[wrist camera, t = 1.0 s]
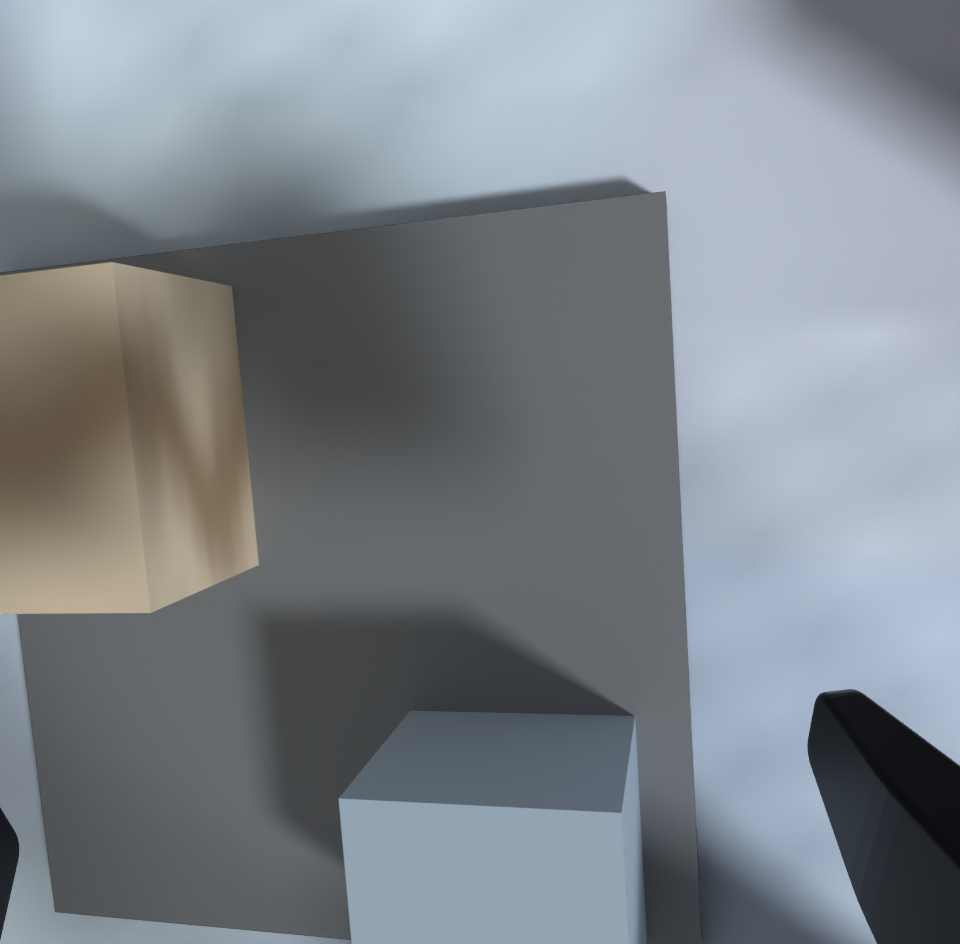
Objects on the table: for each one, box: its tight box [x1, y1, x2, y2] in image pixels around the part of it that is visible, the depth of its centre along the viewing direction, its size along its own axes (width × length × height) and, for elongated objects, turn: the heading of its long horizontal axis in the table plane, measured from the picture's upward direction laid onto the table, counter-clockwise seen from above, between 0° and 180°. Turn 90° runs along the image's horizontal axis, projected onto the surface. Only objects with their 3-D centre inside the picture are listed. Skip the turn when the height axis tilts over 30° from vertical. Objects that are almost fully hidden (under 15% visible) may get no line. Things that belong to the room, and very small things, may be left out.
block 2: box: [339, 711, 647, 944], centre depth 18 cm, size 6×6×4 cm
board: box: [0, 191, 702, 944], centre depth 22 cm, size 18×18×1 cm
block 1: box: [0, 262, 259, 614], centre depth 20 cm, size 7×7×4 cm
